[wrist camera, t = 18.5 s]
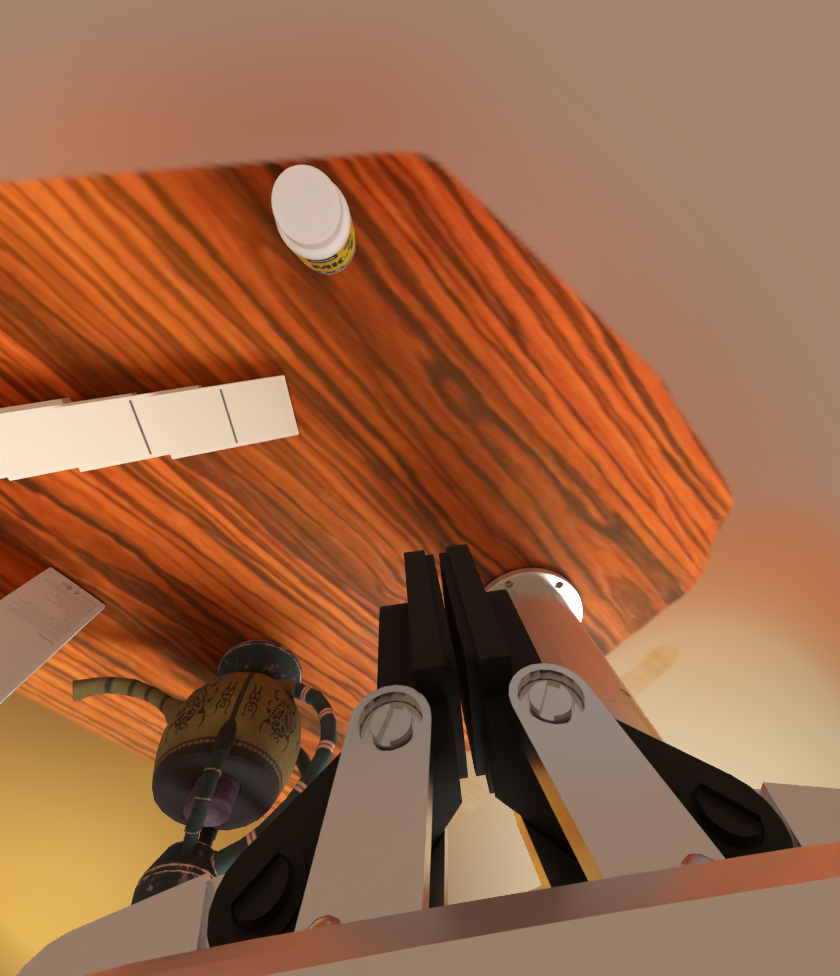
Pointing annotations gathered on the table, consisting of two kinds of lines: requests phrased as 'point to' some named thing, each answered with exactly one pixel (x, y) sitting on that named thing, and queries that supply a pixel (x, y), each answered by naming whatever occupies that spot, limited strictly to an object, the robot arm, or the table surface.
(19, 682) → the small box
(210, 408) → the domino
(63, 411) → the domino
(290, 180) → the supplement bottle
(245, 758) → the teapot
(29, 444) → the domino
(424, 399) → the table surface
